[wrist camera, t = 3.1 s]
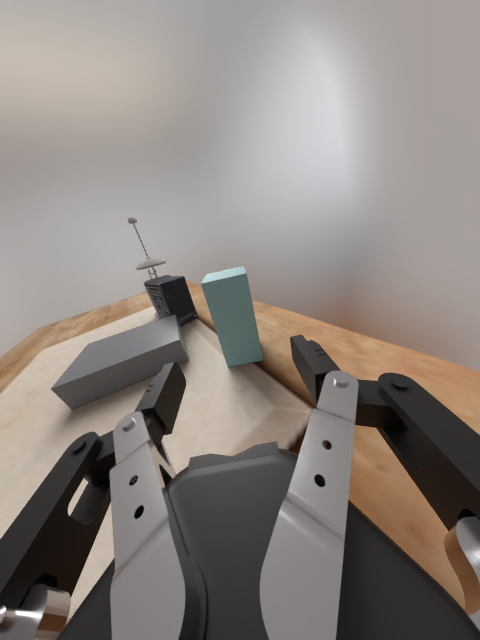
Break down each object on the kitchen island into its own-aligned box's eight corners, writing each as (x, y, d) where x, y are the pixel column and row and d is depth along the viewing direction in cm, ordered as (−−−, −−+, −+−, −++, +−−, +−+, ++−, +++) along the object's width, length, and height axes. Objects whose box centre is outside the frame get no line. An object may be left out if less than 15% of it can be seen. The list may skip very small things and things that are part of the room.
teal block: (228, 367, 23) (200, 283, 18) (228, 346, 28) (206, 274, 23) (263, 360, 23) (246, 273, 18) (257, 340, 28) (243, 265, 22)
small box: (200, 316, 42) (185, 275, 38) (176, 329, 39) (157, 284, 34) (181, 310, 50) (166, 274, 45) (159, 320, 46) (141, 283, 41)
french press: (157, 320, 46) (106, 215, 35) (151, 311, 56) (109, 225, 45) (190, 306, 51) (154, 209, 40) (180, 300, 60) (148, 219, 49)
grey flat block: (71, 409, 23) (50, 388, 21) (100, 360, 33) (88, 344, 31) (188, 360, 27) (179, 339, 25) (182, 330, 37) (175, 314, 35)
